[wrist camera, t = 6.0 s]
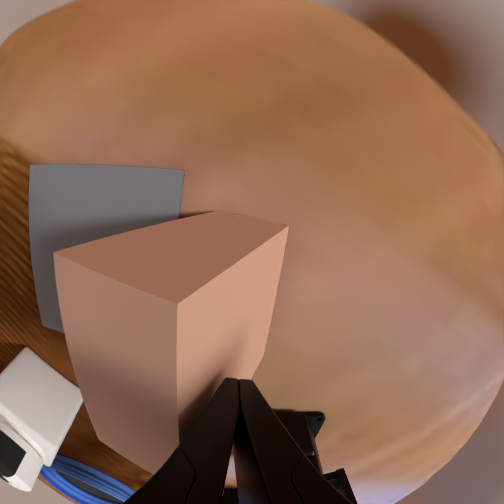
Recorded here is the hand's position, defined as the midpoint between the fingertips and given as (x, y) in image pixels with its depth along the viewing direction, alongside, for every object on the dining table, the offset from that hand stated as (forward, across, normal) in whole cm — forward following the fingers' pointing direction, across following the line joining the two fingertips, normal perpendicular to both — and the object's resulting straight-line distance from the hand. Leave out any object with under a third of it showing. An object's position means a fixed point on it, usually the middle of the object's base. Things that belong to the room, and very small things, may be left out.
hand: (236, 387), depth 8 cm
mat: (+8, +9, 0) cm, 13 cm away
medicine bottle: (+9, +17, +14) cm, 24 cm away
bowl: (+9, +18, +39) cm, 44 cm away
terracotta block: (+8, 0, 0) cm, 8 cm away
